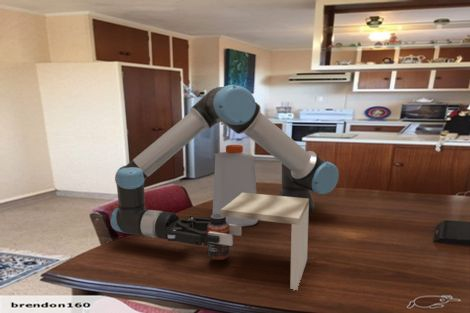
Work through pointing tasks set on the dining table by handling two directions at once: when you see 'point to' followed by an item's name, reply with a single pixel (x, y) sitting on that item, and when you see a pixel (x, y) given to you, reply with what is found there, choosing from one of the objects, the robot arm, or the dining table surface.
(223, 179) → the plastic bottle
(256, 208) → the cream l-shaped stand
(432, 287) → the dining table surface
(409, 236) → the dining table surface
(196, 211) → the dining table surface
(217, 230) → the supplement bottle
